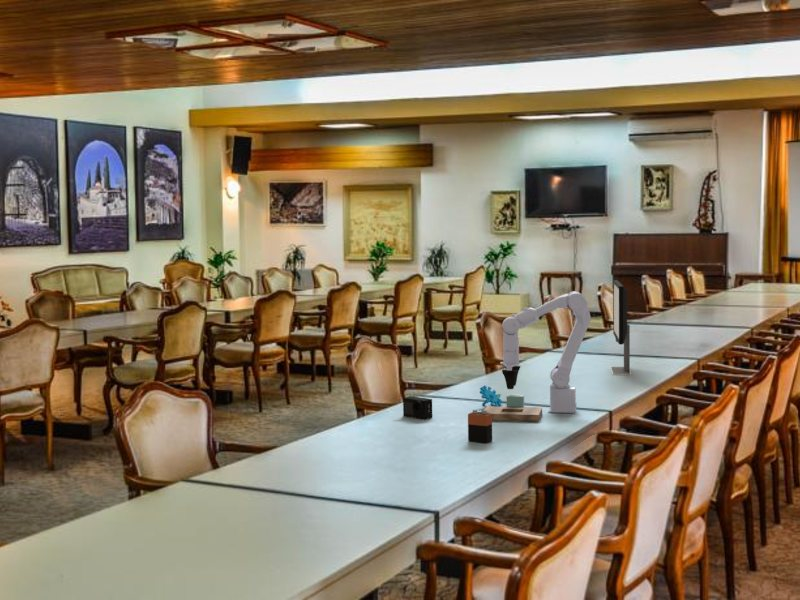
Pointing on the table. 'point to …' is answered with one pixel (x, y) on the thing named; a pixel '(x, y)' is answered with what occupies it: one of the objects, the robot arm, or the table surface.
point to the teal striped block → (515, 400)
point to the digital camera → (417, 407)
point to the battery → (480, 426)
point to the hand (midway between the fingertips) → (511, 387)
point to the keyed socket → (515, 413)
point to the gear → (490, 396)
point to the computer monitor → (621, 326)
